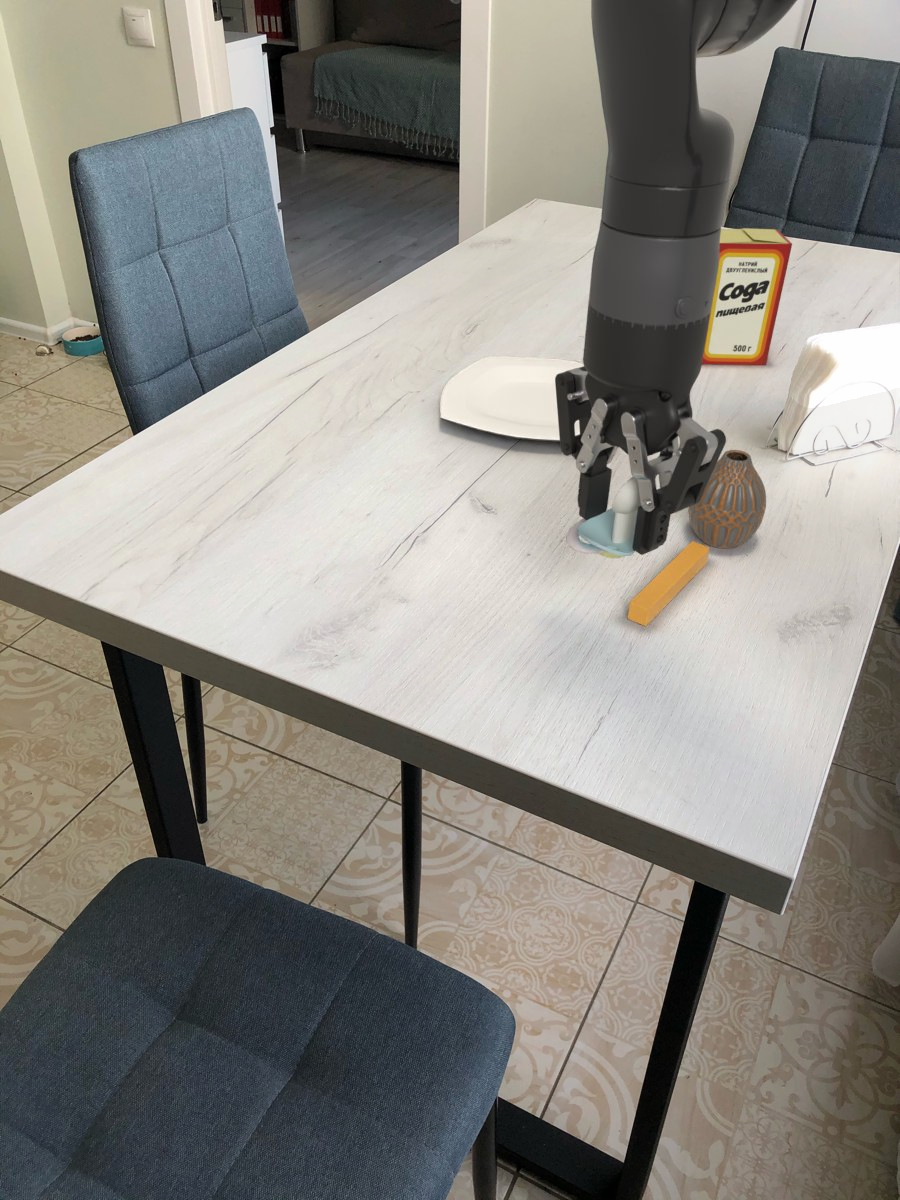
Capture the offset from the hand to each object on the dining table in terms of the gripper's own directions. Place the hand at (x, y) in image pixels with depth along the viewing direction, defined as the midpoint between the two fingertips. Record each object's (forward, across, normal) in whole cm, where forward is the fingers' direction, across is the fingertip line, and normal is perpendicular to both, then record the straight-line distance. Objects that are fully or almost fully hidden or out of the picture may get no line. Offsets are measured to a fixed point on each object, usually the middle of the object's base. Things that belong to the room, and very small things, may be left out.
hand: (618, 531), depth 68 cm
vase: (+12, +7, -22) cm, 26 cm away
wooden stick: (+12, +4, -12) cm, 17 cm away
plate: (+12, +39, -26) cm, 48 cm away
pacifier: (+2, +1, 0) cm, 2 cm away
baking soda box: (+12, +38, -58) cm, 70 cm away
